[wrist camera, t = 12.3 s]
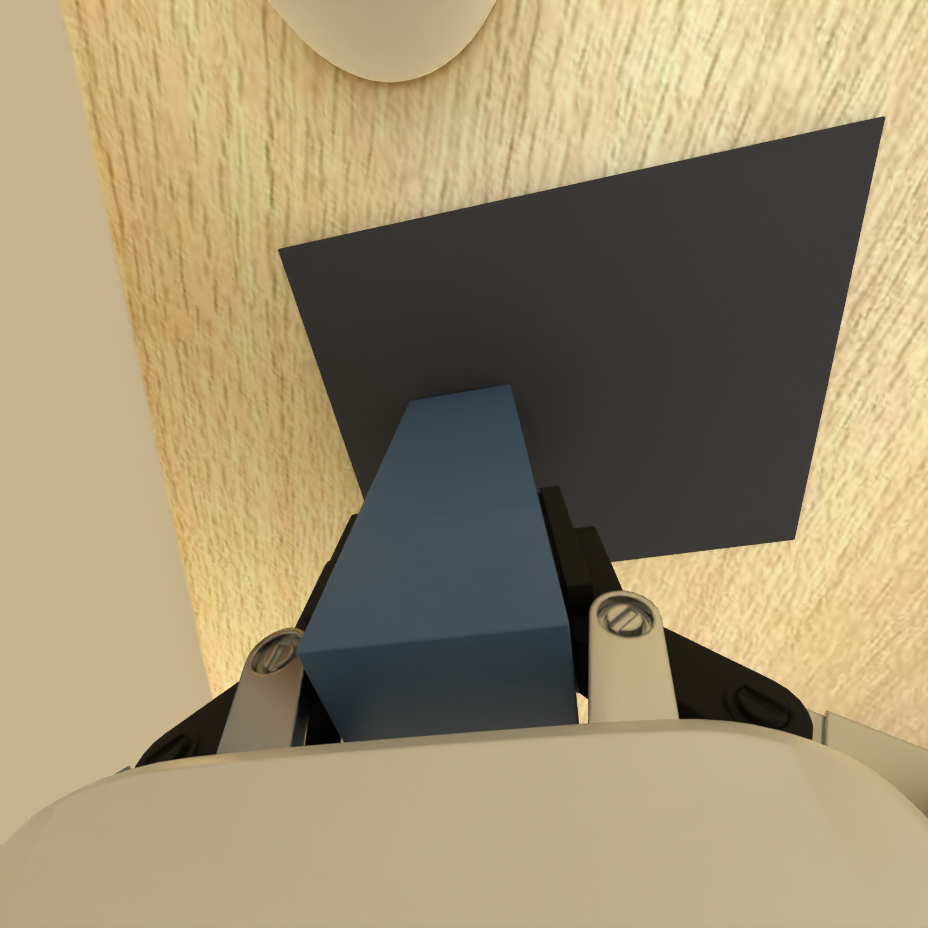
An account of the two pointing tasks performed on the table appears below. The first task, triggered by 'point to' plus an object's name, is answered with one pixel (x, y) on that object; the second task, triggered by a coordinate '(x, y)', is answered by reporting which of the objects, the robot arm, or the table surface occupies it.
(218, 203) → the table surface
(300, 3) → the mug
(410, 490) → the block
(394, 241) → the mat
